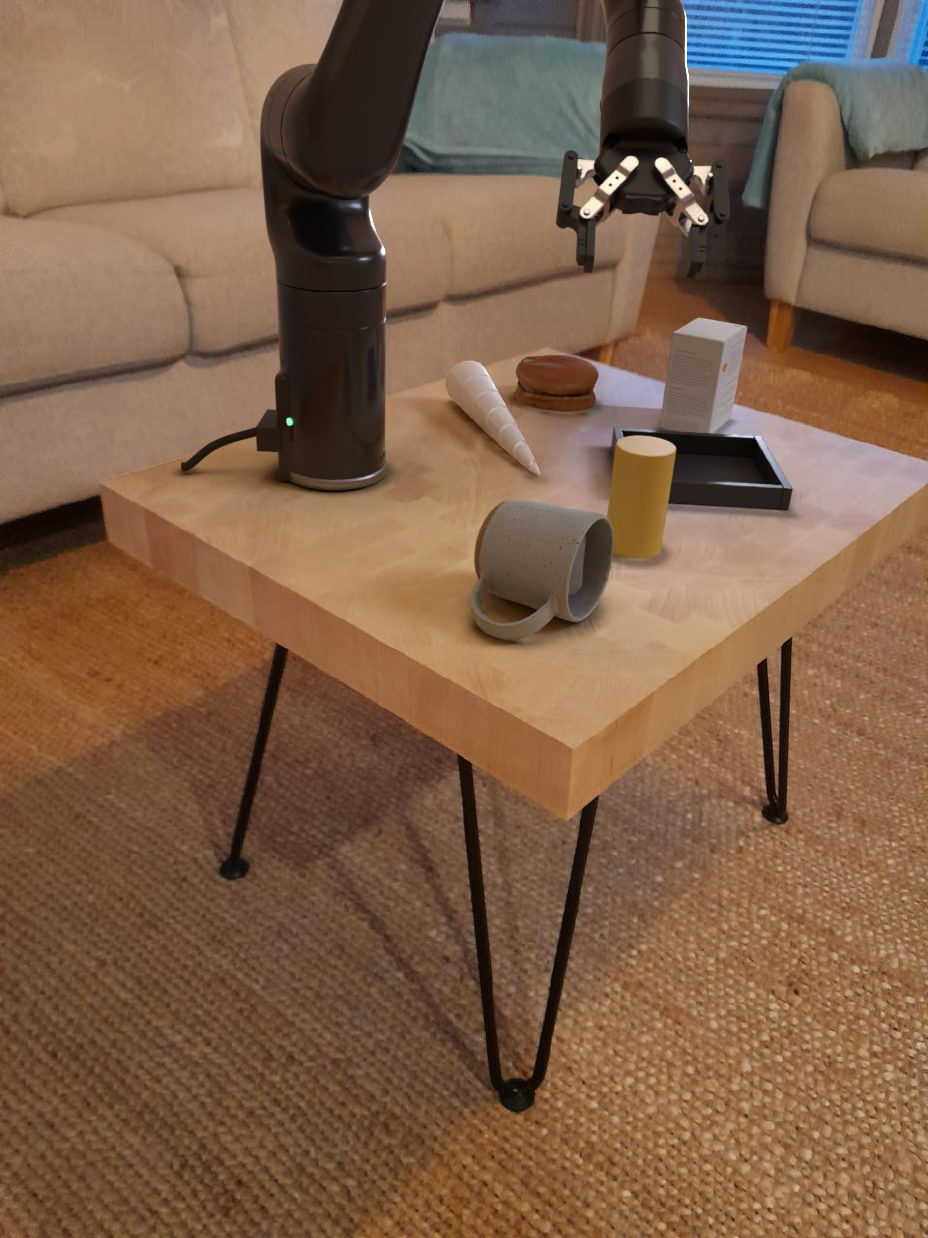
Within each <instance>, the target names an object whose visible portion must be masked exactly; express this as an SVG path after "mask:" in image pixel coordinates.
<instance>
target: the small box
mask: <svg viewBox="0 0 928 1238" xmlns="http://www.w3.org/2000/svg"><path fill="white" fill-rule="evenodd" d="M747 331H748V326H747V325H742V324H737V323H732V322H726V321H720V320H715V319H711V318H710V319H709V318H703V317H697V318H695V319H693V320H691V321H689V322H688V323H686V324H685V325H683V326H681V327H680V328H678V329H677V330H675V331H673V332H672V334H671V341H670V348H669V356H668V364H667V370H666V378H665V384H664V391H663V398H662V406H661V412H660V420H659V428H661V429H662V428H663V429H665V430H669V431H679V432H697V433H714V434H715V433H716V432H717V431H718V430H719V429H720V428H721V427H723V425H725V424H726V423H727V422H728V421H730V420H731V419H732V415H733V408H734V403H735V398H736V392H737V389H738V388H737V387H738V383H739V378H740V377H739V376H740V371H741V367H742V366H741V365H742V361H743V352H744V349H745V343H746V337H747Z"/></svg>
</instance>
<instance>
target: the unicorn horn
mask: <svg viewBox="0 0 928 1238" xmlns="http://www.w3.org/2000/svg"><path fill="white" fill-rule="evenodd" d="M445 389H446V390H447V391H446V392H447V395H448V397H450V399H451V400H452V401H453V402H454V404H457V406H458V407H460V409H461V410H462V411H463V412H464V413H465V414H466V415H467V416H468V417H469V418H470V419H471V420H472V421H473V422H474V423H476V425H477V426H479V427H480V428H481V430H483V431H484V432H485V433H486V434H487V435H488V436H489V437H490V438H491V439H492V440H493V441H494V442H495V443H496V444H497V445H498V446H500V447H501V448H502V449H503V450H504V451H505V452H506V453H507V454H508V455H510V456H511V457H512V458H513V459H514V460H515V461H517V462H518V463H519V464H520V465H521V466H523V467H524V468H525V469H526V470H527V471H529V472H531V473H532V474H534V475H536V476H540V475H541V472H540V469H539V466H538V463H537V462H536V461H535V460H536V459H535V457H534V455H533V453H532V451H531V449H530V446H529V445H528V443H527V441H526V439H525V437H524V435H523V434H522V432H521V429H520V428H519V426H518V424H517V422H516V420H515V419H514V416H513V415H512V413H511V411H510V409H509V408H508V406H507V404H506V403H505V401H504V399H503V397H502V396H501V394H500V392H499V390H498V389H497V386H496V385H495V383H494V381H493V380H492V378H491V376H490V374H489V373H488V371H487V369H486V368H485V367H484V366H483V364H482V363H481V362H478V361H475V360H463V361H460V362H458V363H456V364H454V365H453V366H452V367H451V368H450V369H449V370H448V372H447V374H446V377H445Z"/></svg>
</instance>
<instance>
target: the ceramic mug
mask: <svg viewBox="0 0 928 1238" xmlns="http://www.w3.org/2000/svg"><path fill="white" fill-rule="evenodd" d="M613 547H614V536H613V528H612V525H611V523H610V521H609V519H608V518H607V515H605V514H603V513H600V512H595V511H588V510H582V509H577V508H570V507H566V506H559V505H554V504H548V503H544V502H539V501H534V500H528V499H527V500H526V499H509V500H503V501H502V502H500V503H498V504H497V505H495V506H494V507H493V508H492V509H491V510H490V511H489V513H488V514H487V515H486V517H485V518H484V521H482V524H481V526H480V528H479V531H478V533H477V537H476V541H475V545H474V555H473V565H474V571H475V574H476V577H477V579H478V581H477V582H476V583H475V585H474V587H473V589H472V591H471V595H470V610H471V613H472V616H473V619H474V621H475V623H476V625H477V626H478V627H479V628H480V630H481V631H482V632H484V634H487V635H489V636H490V637H493V638H496V639H499V640H505V641H506V640H507V641H514V640H520V639H524V638H528V637H530V636H532V635H535V634H536V633H538V632H539V631H540V630H542V629H543V628H544V627H545V626H546V625H547V624H548V623H549V622H550V621H551V620H553V618H554V617H556V618H559V619H562V620H565V621H568V622H572V623H578V622H582V621H584V620H585V619H587V618H588V617H589V616H590V615H591V614H592V613H593V612H594V610H595V609H596V607H597V605H598V604H599V602H600V600H601V598H602V597H603V594H604V593H605V590H606V587H607V584H608V582H609V578H610V573H611V571H612V563H613V558H614V557H613V556H614V553H613ZM488 593H491V594H493V595H495V596H497V597H498V598H501V599H504V600H506V601H507V600H508V601H510V602H514V603H517V604H520V605H523V606H526V607H529V608H531V609H533V610H536V611H535V612H533V613H532V614H530V615H529V616H527V617H525V618H523V619H520V620H518V621H513V622H507V623H498V622H494V621H492V620H491V618H490V617H489V616H487V615H485V614H484V613H483V611H482V610H481V606H482V603H483V601H484V598H485V597H486V595H487V594H488Z"/></svg>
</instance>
